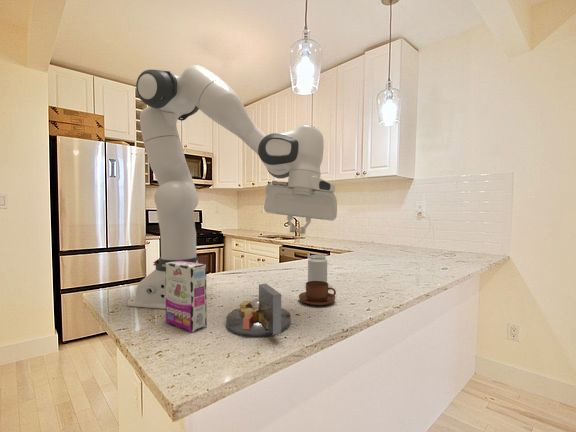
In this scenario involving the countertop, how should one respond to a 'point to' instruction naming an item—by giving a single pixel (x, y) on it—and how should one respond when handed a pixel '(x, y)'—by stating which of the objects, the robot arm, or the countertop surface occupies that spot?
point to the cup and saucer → (317, 293)
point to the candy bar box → (186, 295)
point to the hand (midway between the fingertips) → (297, 233)
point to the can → (317, 268)
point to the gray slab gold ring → (265, 309)
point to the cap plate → (257, 327)
